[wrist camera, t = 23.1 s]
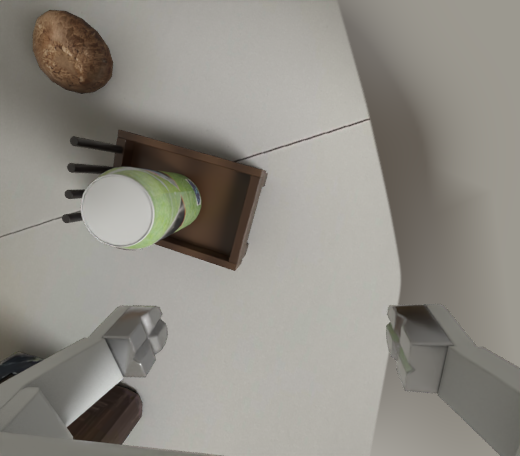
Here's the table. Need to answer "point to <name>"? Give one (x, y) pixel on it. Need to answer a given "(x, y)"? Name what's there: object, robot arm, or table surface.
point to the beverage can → (138, 206)
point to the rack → (210, 188)
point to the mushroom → (71, 52)
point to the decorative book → (98, 415)
